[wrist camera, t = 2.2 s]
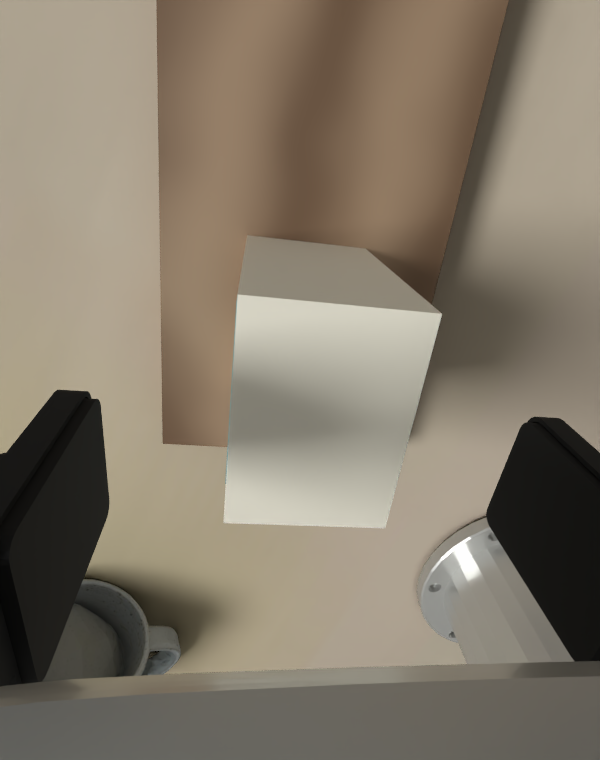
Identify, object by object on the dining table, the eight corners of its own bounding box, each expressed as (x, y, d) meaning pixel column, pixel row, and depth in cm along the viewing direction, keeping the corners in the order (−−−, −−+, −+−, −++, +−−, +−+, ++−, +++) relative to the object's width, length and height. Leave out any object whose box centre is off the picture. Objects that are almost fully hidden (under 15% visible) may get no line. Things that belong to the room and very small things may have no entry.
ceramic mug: (9, 639, 31) (-60, 777, 24) (47, 562, 28) (-19, 694, 21) (156, 673, 34) (132, 804, 27) (203, 607, 31) (189, 734, 24)
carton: (365, 248, 19) (442, 314, 11) (339, 393, 22) (384, 528, 14) (245, 234, 18) (235, 294, 10) (236, 386, 21) (221, 522, 13)
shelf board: (525, -163, 15) (620, -277, 11) (384, 435, 26) (406, 486, 22) (166, -249, 14) (127, -415, 10) (170, 422, 24) (152, 474, 20)
